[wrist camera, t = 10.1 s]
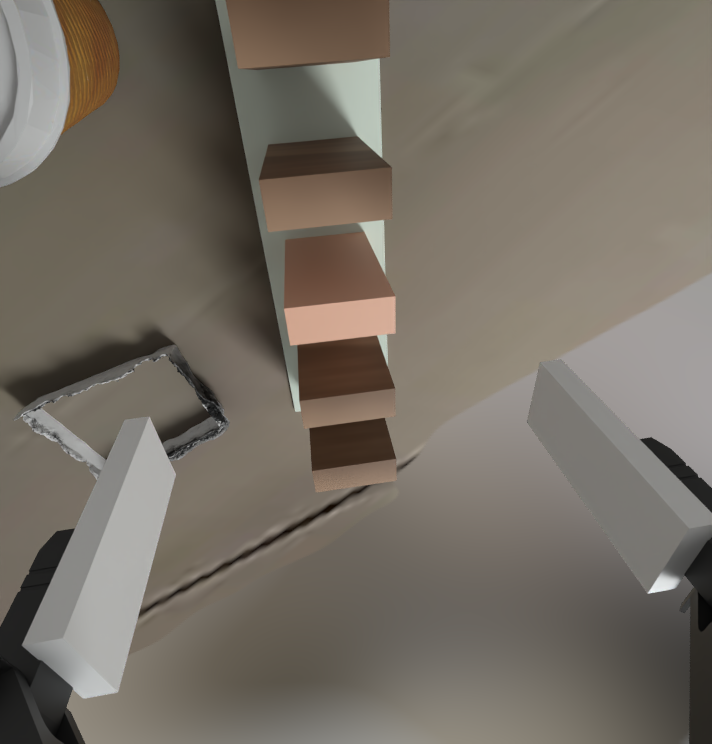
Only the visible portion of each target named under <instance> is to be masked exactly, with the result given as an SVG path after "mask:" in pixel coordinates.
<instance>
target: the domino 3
mask: <svg viewBox="0 0 712 744" xmlns="http://www.w3.org/2000/svg"><path fill="white" fill-rule="evenodd" d="M284 312H285V318H286V324H287V329H288V335H289V341H290V346H292V345H300V344H309V343H317V342H326V341H334V340H342V339H351V338H359V337H368V336H376V335H385V334H393V333H395V295H394V293H393V291H392V288H391V286H390V284H389V282H388V280H387V278H386V276H385V274H384V272H383V270H382V268H381V266H380V263H379V261H378V259H377V257H376V255H375V253H374V251H373V249H372V247H371V245H370V243H369V240H368V238H367V236H366V234H365V232H356V233H346V234H336V235H326V236H316V237H306V238H296V239H286V240H285V275H284Z"/></svg>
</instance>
